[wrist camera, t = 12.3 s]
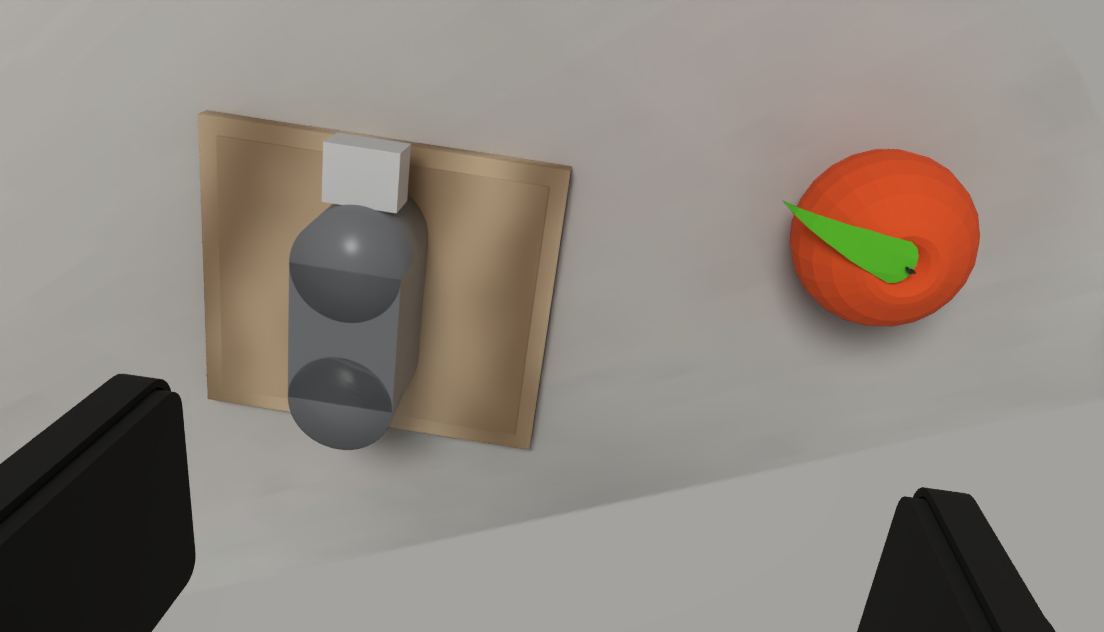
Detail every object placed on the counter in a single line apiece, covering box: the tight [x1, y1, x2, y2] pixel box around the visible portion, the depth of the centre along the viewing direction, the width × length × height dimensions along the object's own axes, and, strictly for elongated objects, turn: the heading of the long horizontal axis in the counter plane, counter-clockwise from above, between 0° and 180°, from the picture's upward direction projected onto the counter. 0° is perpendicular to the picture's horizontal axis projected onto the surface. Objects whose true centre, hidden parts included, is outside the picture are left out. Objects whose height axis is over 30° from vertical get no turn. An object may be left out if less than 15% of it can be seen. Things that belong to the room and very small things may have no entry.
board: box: [198, 111, 572, 449], centre depth 39 cm, size 16×14×1 cm
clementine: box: [782, 149, 980, 326], centre depth 33 cm, size 8×7×7 cm
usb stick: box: [288, 132, 428, 450], centre depth 36 cm, size 13×4×5 cm, turn 172°
